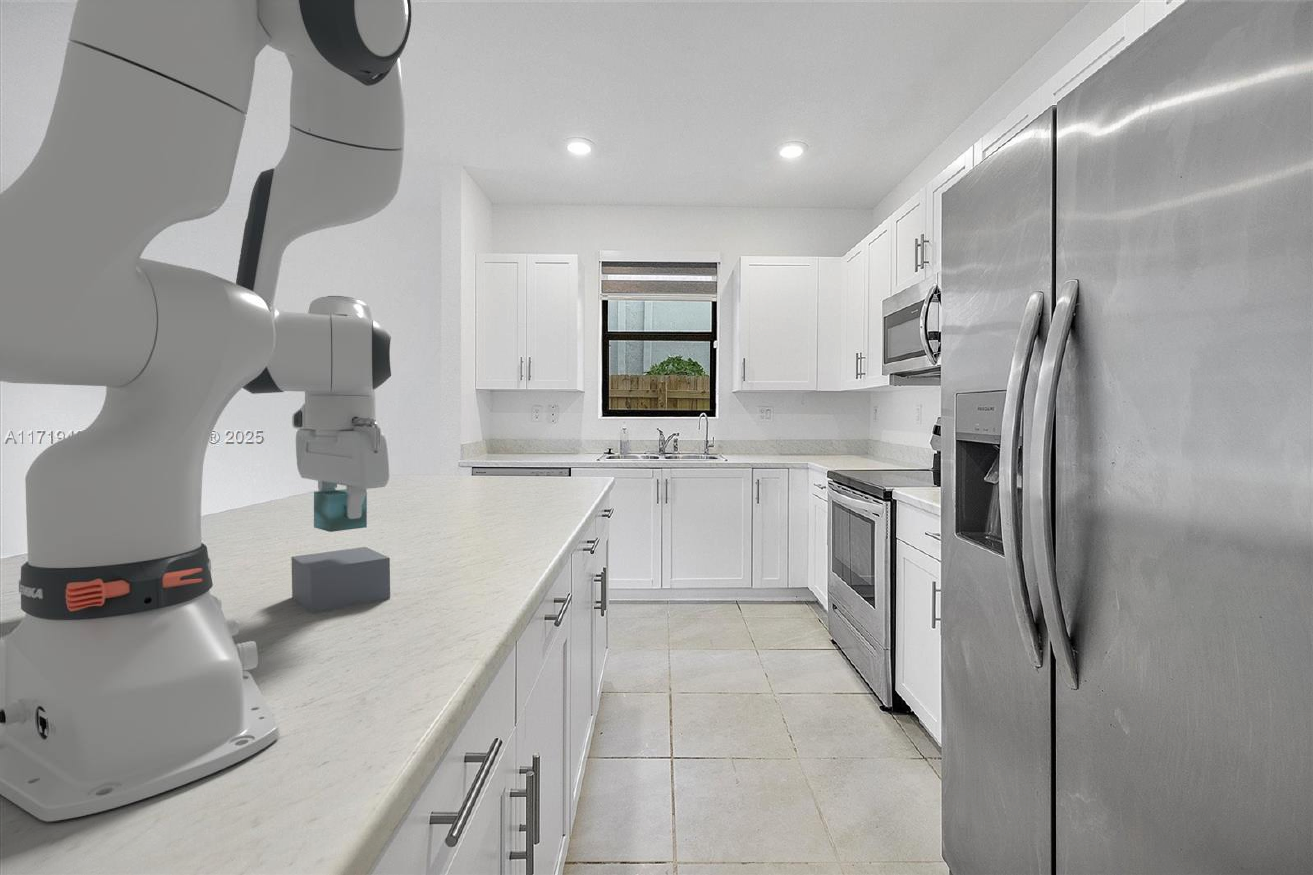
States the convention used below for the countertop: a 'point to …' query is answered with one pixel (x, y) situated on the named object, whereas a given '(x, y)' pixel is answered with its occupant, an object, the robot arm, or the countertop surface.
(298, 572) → the charcoal block
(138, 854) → the countertop surface
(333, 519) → the teal block
